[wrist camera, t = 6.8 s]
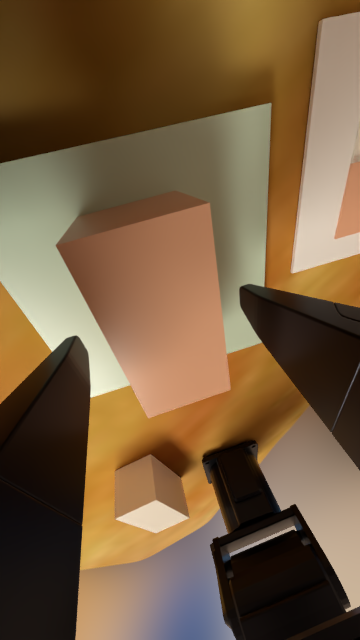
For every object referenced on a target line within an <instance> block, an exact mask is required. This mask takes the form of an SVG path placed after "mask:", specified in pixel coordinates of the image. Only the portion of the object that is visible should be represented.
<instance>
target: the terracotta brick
mask: <svg viewBox="0 0 360 640" xmlns="http://www.w3.org/2000/svg"><path fill="white" fill-rule="evenodd" d="M55 246H56V247H57V249H58V251H59V253H60V255H61V257H62V259H63V260H64V262H65V264H66V266H67V268H68V270H69V272H70V273H71V275H72V277H73V279H74V281H75V283H76V285H77V286H78V288H79V290H80V292H81V294H82V296H83V298H84V299H85V301H86V303H87V305H88V307H89V309H90V311H91V312H92V314H93V316H94V318H95V320H96V322H97V324H98V326H99V327H100V329H101V331H102V333H103V335H104V337H105V339H106V340H107V342H108V344H109V346H110V348H111V350H112V352H113V353H114V355H115V357H116V359H117V361H118V363H119V365H120V366H121V368H122V370H123V372H124V374H125V376H126V378H127V379H128V381H129V383H130V385H131V387H132V389H133V391H134V393H135V394H136V396H137V398H138V400H139V402H140V404H141V406H142V407H143V409H144V411H145V413H146V415H147V417H148V418H150V417H153V416H156V415H159V414H162V413H165V412H168V411H170V410H173V409H176V408H179V407H182V406H185V405H188V404H191V403H194V402H197V401H199V400H202V399H205V398H208V397H211V396H214V395H217V394H220V393H223V392H225V391H228V390H231V388H230V379H229V370H228V361H227V352H226V343H225V334H224V325H223V316H222V307H221V298H220V289H219V281H218V272H217V263H216V254H215V245H214V236H213V227H212V218H211V209H210V203H209V202H206V201H204V200H201V199H198V198H195V197H193V196H190V195H187V194H184V193H181V192H179V191H176V190H175V191H172V192H168V193H164V194H160V195H157V196H153V197H149V198H145V199H142V200H138V201H134V202H131V203H127V204H123V205H119V206H116V207H112V208H108V209H105V210H101V211H97V212H93V213H90V214H86V215H82V216H78V217H77V218H76V219H75V220H74V222H73V223H72V224H71V226H70V227H69V228H68V230H67V231H66V232H65V233H64V235H63V236H62V237H61V239H60V240H59V241H58V243H57V244H56V245H55Z"/></svg>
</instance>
